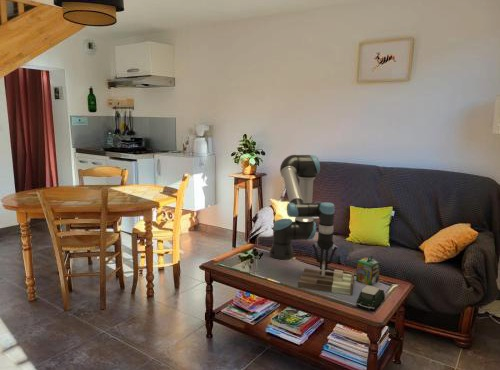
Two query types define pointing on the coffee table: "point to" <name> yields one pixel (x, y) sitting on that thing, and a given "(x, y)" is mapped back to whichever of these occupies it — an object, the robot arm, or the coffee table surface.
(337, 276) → the birch block
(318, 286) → the brown striped flat block
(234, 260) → the coffee table surface
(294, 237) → the robot arm
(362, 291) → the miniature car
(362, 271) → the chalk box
